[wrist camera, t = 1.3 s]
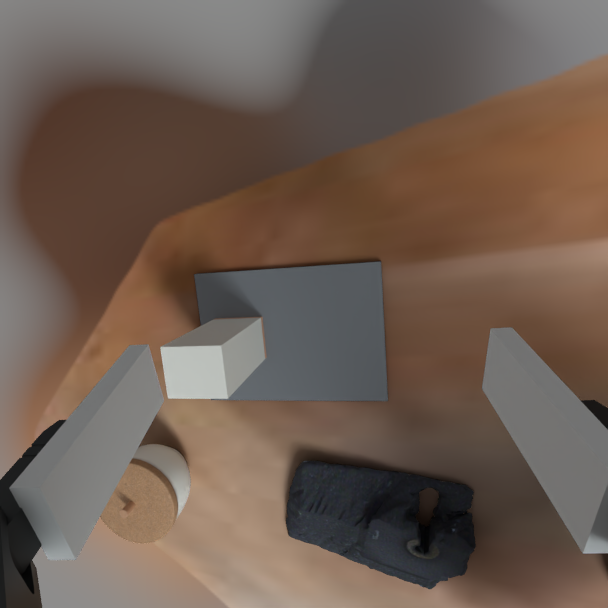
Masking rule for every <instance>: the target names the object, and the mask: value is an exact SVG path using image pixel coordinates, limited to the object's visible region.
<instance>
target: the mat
mask: <svg viewBox="0 0 608 608" xmlns="http://www.w3.org/2000/svg"><path fill="white" fill-rule="evenodd" d="M194 277H195V284H196V292H197V300H198V307H199V315H200V323H201V326H202V325H204V324H206V323H208V322H209V321H211V320H213V319H216V318H240V317H263V327H264V337H265V346H266V356H267V357H266V358H265V360H264V361H263V362H262V363H261V364H260V365H259V366H258V367H257V368H256V369H255V370H254V371H253V372H252V373H251V375H250V376H249V377H248V378H247V379H246V380H245V381H244V382H243V383H242V384H241V385H240V386H239V387H238V388H237V389H236V391H235V392H234V393H233V394H232V395H231V396H230V397H229V398H228V399H211V400H296V401H388V392H387V372H386V352H385V331H384V311H383V291H382V271H381V261H378V262H364V263H349V264H334V265H319V266H305V267H290V268H275V269H260V270H246V271H231V272H216V273H201V274H194Z"/></svg>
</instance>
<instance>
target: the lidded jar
mask: <svg viewBox="0 0 608 608" xmlns="http://www.w3.org/2000/svg"><path fill="white" fill-rule="evenodd" d="M190 486H191V478H190V472H189V468H188V466H187V462H186V460H185V458H184V457H183V456H182V454H181V453H180V452H179V451H177V450H176V449H174V448H172V447H169V446H165V445H161V444H147V445H142V446H139V447H138V449H137V450H136V452H135V454H134V456H133V458H132V460H131V461H130V463H129V465H128V467H127V469H126V470H125V472H124V474H123V476H122V478H121V479H120V481H119V483H118V485H117V487H116V488H115V490H114V492H113V494H112V496H111V497H110V499H109V501H108V503H107V505H106V507H105V508H104V510H103V512H102V514H101V516H100V517H101V519H102V520H103V522H104V523H105V524H106V525H107V527H109V529H111V530H112V531H113V532H114V533H115V534H117V535H118V536H120V537H122V538H124V539H126V540H129V541H131V542H135V543H151V542H155V541H157V540H159V539H161V538H163V537H164V536H165V535H166V534H167V533H168V532H169V531H170V529H171V528H172V526H173V525H174V523H175V521H176V519H177V518H178V516H179V515H180V513H181V511H182V510H183V508H184V506H185V504H186V501H187V498H188V496H189V492H190Z"/></svg>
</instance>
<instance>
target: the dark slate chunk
mask: <svg viewBox="0 0 608 608" xmlns="http://www.w3.org/2000/svg"><path fill="white" fill-rule="evenodd" d="M430 487H431V488H434V489H435V490H437V491H438V492H439V498H438V503H437V506H436V507H435V508H434V510H433V514H434V516H435V517H432V519H431V521H430V524H429V526H427V527H425V526H424V525H422V524H420V523H419V521H417V519H416V514H418V512H419V504H420V501H419V492H420V491H421V490H424V489H425V488H430ZM289 493H290V495H289V500H288V503H287V514H288V517H287V519H286V524H287V529H288V531H289V532H288V533H289V536H290V537H292V538H295V539H298V540H301V541H303V542H306V543H310V544H314V545H318V546H320V547H321V548H323V549H326V550H328V551H331V552H334V553H337V554H339V555H341V556H344V557H346V558H347V559H349V560H352V561H354V562H357V563H360V564H364V565H367V566H368V567H369V568H370V569H375V570H378V571H381V572H383V573H385V574H387V575H390V576H396V577H397V578H399V579H402V580H404V581H408V582H412V583H414V584H419V585H420V586H422V587H426V588H428V589H432V588H433V587H435V586H436V583H438V582H439V581H447V580H448V578H452V577H455V576H459V575H460V576H462V575H464V574H465V572H466V570H467V563H468V560H469V556H470V554H471V553H472V552H473V551H474V549H475V547H476V544H475V537H474V525H473V523H472V514H471V513H467V510H468V509H470V508H471V506H472V504H471V501H472V499H473V497H472V495H473V493H474V492H473V491H472V490H471V489H470V488H468V487H467V486H466V485H460V484H458V483H455V484H454V483H451V482H442V481H440V480H435V479H431V478H427V477H423V476H419V475H415V474H411V475H409V474H407V473H401V472H400V473H399V472H395V471H385V470H384V471H380V470H374V469H370V468H366V467H364V468H360V467H359V468H358V467H355V466H346V465H339V464H328V463H324V462H320V461H303V462H302V463H301V464H300V466H299V467H298V468H297V470H296V472H295V476H294V478H293V482H292V485H291V487H290V492H289ZM464 512H465V514H463V513H464Z"/></svg>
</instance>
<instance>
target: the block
mask: <svg viewBox="0 0 608 608" xmlns="http://www.w3.org/2000/svg"><path fill="white" fill-rule="evenodd" d="M160 348H161V355H162V362H163V368H164V375H165V382H166V388H167V395H168V398H180V399H228V398H229V397H230V396H231V395H232V394H233V393H234V392H235V391H236V389H237V388H238V387H239V386H240V385H241V384H242V383H243V382H244V381H245V380H246V379H247V378H248V377H249V376H250V375H251V373H252V372H253V371H254V370H255V369H256V368H257V367H258V366H259V365H260V364H261V363H262V362H263V361H264V360H265V358H266V357H267V356H266V346H265V337H264V327H263V317H240V318H216V319H213V320H211V321H209V322H208V323H206V324H204V325H202V326H200V327H198V328H196V329H194V330H192V331H190V332H188V333H186V334H184V335H183V336H181V337H179V338H177V339H175V340H173V341H171V342H169V343H167V344H165V345H163V346H161V347H160Z"/></svg>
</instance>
